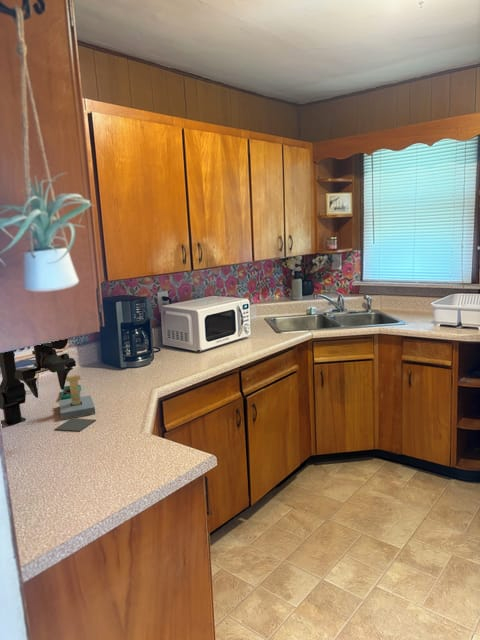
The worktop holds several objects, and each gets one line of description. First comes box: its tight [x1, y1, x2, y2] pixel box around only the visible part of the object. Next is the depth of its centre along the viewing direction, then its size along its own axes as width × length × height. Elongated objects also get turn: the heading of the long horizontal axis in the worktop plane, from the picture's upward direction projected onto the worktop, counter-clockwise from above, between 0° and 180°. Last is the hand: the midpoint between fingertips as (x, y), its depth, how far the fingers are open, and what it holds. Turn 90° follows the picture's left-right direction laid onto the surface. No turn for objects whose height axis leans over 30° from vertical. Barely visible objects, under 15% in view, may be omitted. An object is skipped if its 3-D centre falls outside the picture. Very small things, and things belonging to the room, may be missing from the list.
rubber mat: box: [54, 417, 97, 433], centre depth 169 cm, size 10×10×1 cm
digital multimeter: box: [60, 384, 82, 400], centre depth 204 cm, size 7×15×3 cm, turn 15°
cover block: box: [58, 394, 96, 421], centre depth 185 cm, size 12×16×2 cm
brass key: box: [66, 374, 81, 406], centre depth 184 cm, size 5×3×14 cm, turn 113°
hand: (49, 393), depth 158 cm, fingers open, 9 cm apart
